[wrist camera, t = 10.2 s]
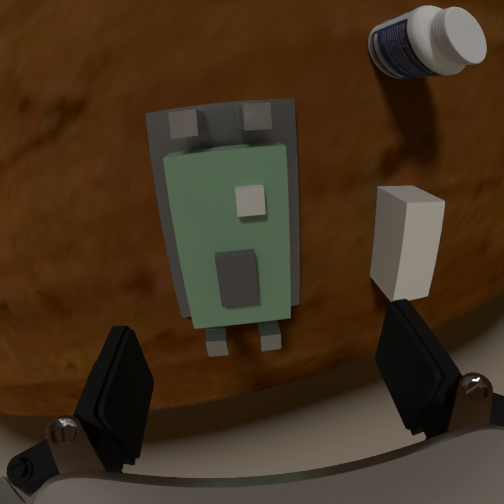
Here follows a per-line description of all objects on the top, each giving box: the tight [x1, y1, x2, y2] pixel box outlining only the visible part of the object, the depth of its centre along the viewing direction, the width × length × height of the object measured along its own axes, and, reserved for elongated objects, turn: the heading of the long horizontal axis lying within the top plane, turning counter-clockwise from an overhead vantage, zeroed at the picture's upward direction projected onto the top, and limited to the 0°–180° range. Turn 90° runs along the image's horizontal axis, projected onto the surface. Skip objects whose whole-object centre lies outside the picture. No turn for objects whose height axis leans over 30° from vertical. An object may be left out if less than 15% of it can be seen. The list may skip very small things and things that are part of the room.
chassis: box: [146, 99, 300, 356], centre depth 22 cm, size 11×18×7 cm, turn 4°
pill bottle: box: [368, 6, 486, 79], centre depth 15 cm, size 5×5×10 cm
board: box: [163, 142, 291, 329], centre depth 20 cm, size 7×12×3 cm, turn 4°
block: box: [370, 186, 445, 302], centre depth 25 cm, size 4×9×5 cm, turn 4°
